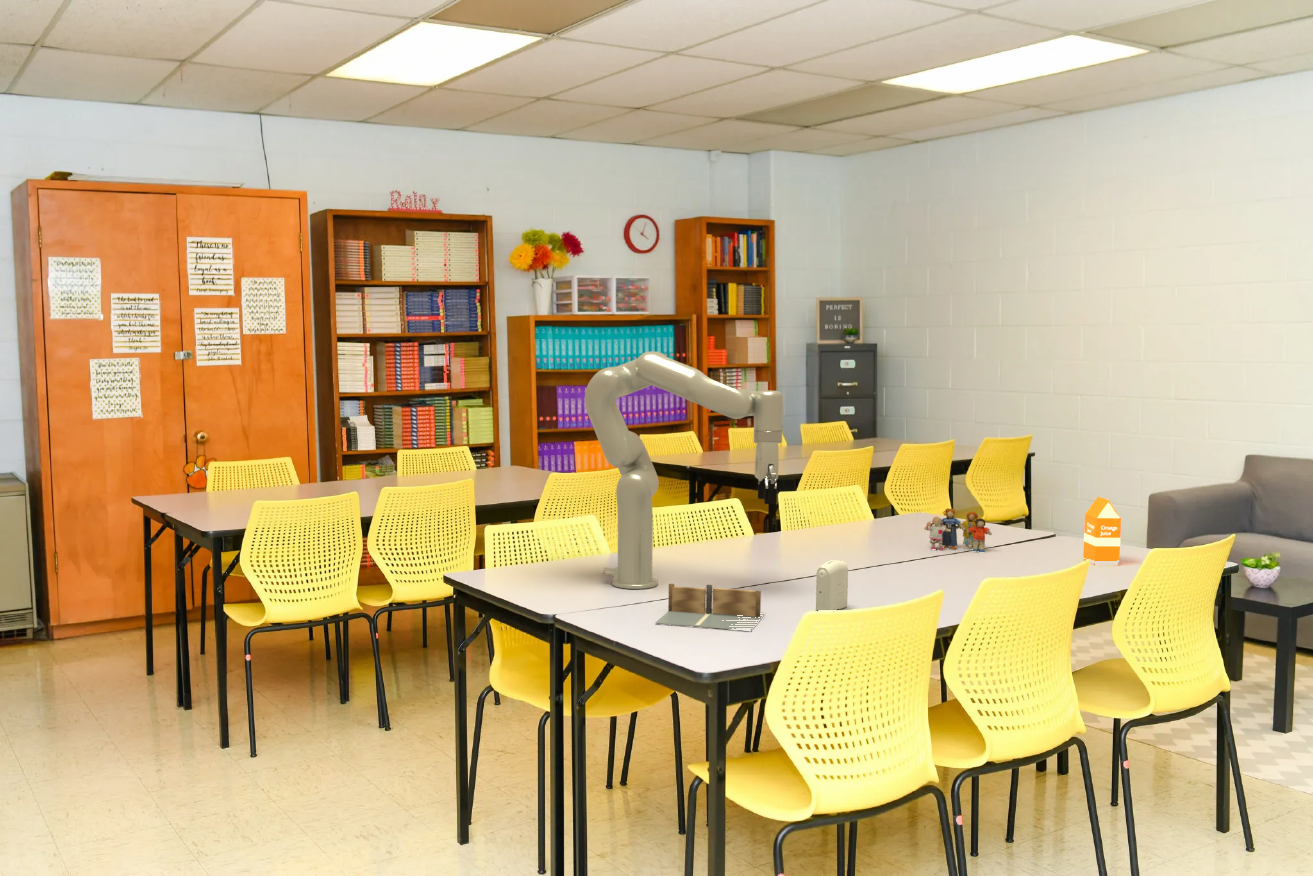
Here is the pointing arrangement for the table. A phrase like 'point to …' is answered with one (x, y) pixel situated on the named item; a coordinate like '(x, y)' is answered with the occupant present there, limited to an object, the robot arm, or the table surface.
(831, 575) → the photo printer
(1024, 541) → the table surface
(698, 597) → the fence fixed
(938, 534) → the doll family
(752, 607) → the fence gate
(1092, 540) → the orange juice
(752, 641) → the table surface
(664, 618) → the card
